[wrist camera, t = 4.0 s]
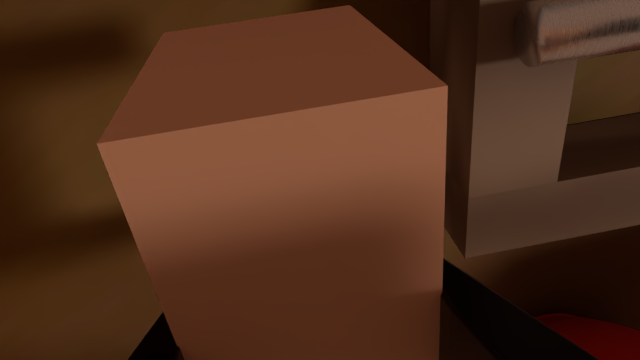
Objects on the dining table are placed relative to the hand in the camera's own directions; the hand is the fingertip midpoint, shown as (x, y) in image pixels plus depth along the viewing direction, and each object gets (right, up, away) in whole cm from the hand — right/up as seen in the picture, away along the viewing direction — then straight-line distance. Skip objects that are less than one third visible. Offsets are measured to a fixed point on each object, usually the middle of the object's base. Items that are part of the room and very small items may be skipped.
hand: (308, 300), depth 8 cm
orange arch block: (-1, +2, +4) cm, 4 cm away
